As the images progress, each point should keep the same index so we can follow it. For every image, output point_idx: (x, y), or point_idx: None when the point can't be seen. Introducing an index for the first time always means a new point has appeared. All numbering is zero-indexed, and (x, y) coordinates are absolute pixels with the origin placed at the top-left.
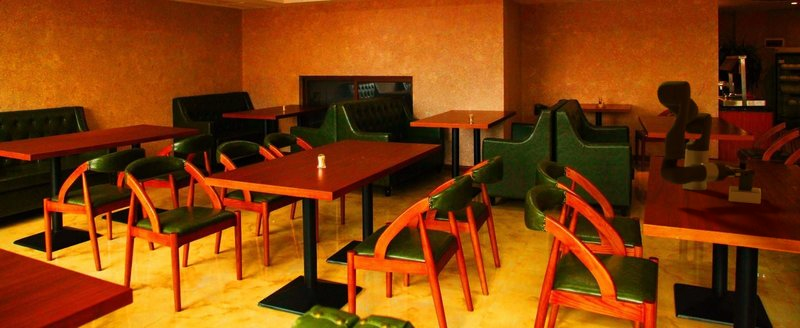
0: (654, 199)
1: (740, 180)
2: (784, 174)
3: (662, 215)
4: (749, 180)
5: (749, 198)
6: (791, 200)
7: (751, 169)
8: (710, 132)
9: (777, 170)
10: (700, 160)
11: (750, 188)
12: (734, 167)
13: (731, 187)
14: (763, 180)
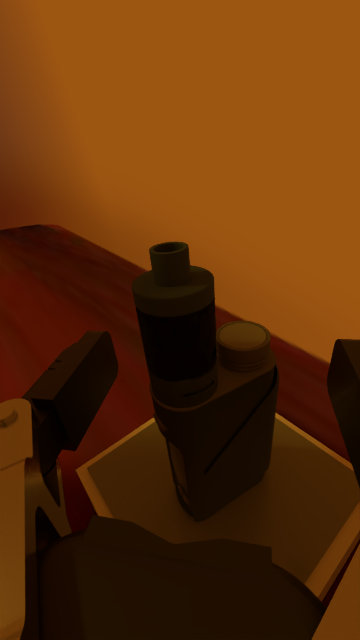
0: None
1: (202, 472)
2: (72, 242)
3: None
4: (269, 429)
5: (336, 574)
6: (288, 347)
7: (352, 357)
8: None
9: (50, 237)
10: None
11: (269, 464)
12: (82, 377)
13: (118, 516)
14: (65, 272)
